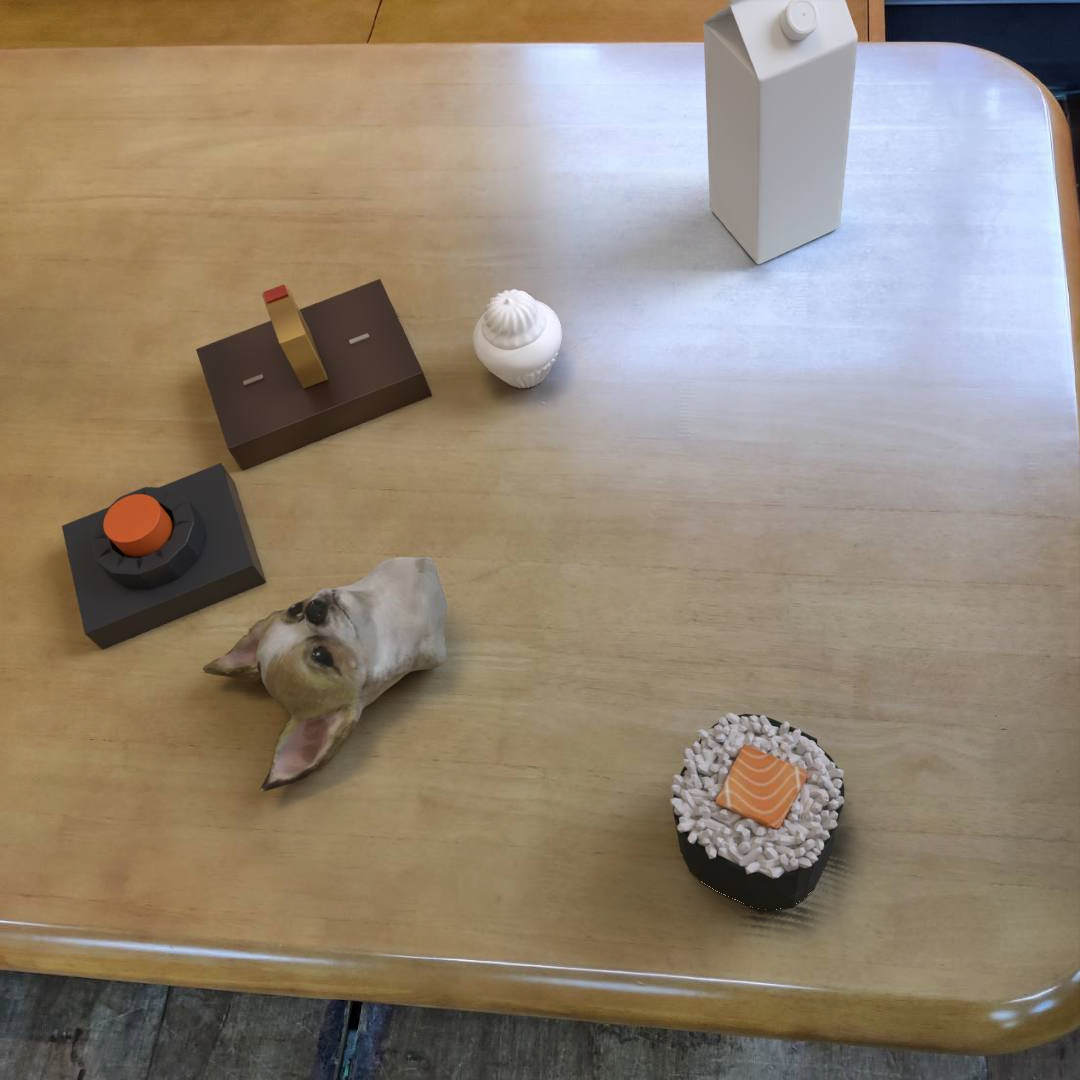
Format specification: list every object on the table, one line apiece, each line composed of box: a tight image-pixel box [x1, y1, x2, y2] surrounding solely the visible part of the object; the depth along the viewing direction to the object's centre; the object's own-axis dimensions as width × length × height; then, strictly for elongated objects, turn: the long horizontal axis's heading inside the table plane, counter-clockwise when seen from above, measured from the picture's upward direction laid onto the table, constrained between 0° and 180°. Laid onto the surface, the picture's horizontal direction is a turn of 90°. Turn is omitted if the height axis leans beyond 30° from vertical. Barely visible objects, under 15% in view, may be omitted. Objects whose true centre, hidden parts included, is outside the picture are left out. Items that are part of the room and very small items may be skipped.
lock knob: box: [261, 284, 328, 389], centre depth 75 cm, size 5×2×5 cm, turn 23°
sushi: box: [669, 712, 845, 913], centre depth 57 cm, size 8×8×8 cm
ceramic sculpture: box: [202, 555, 448, 793], centre depth 64 cm, size 11×9×15 cm
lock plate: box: [195, 278, 432, 472], centre depth 78 cm, size 14×10×3 cm
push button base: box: [61, 462, 267, 651], centre depth 71 cm, size 11×9×4 cm
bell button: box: [103, 494, 173, 557], centre depth 69 cm, size 4×4×2 cm
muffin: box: [472, 288, 563, 389], centre depth 75 cm, size 6×6×7 cm
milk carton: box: [702, 0, 859, 265], centre depth 74 cm, size 7×7×19 cm
